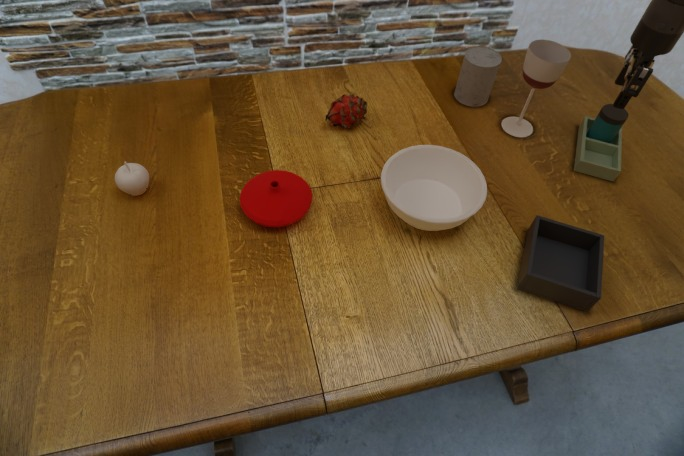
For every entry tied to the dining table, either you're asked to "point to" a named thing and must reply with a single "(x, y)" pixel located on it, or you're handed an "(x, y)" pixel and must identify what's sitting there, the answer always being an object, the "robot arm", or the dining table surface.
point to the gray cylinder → (477, 75)
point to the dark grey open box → (562, 263)
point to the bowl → (433, 187)
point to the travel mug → (607, 123)
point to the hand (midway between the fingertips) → (618, 95)
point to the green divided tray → (597, 154)
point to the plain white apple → (132, 178)
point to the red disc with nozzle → (276, 198)
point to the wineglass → (538, 78)
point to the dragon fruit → (347, 111)
